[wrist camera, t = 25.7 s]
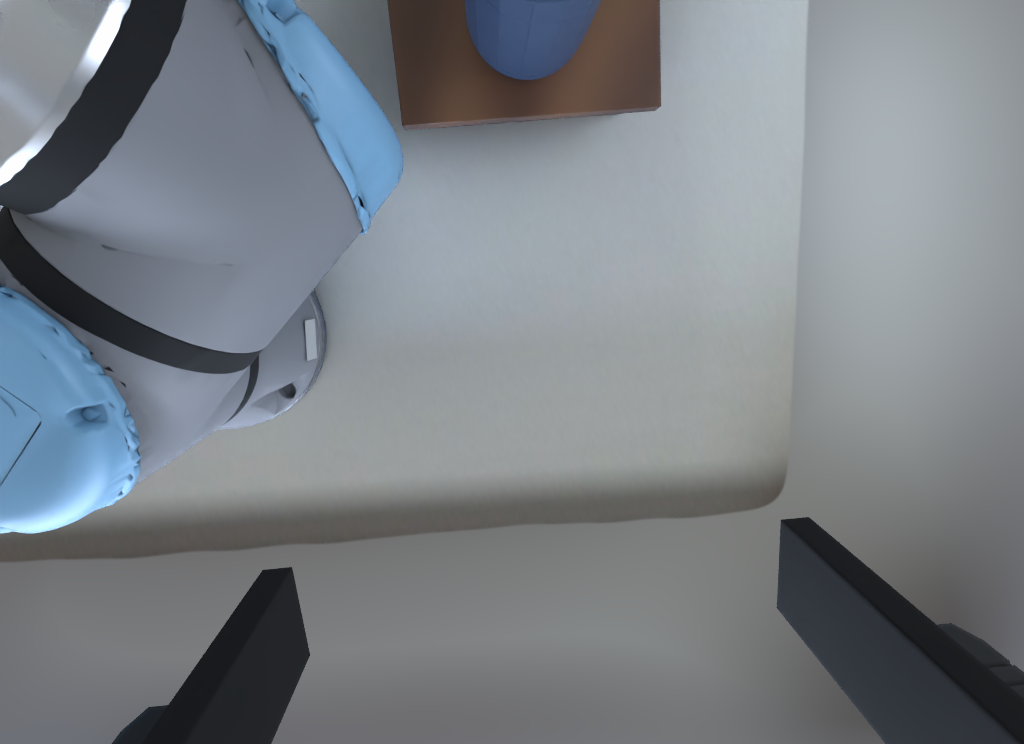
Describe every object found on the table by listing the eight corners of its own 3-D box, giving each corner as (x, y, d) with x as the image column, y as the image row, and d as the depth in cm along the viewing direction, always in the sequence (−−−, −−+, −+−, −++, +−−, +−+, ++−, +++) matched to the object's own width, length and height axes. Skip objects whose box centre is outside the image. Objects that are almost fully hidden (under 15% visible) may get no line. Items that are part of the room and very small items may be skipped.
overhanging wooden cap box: (415, 144, 40) (402, 126, 34) (393, -38, 37) (376, -92, 31) (636, 126, 40) (661, 106, 34) (632, -55, 37) (658, -111, 31)
